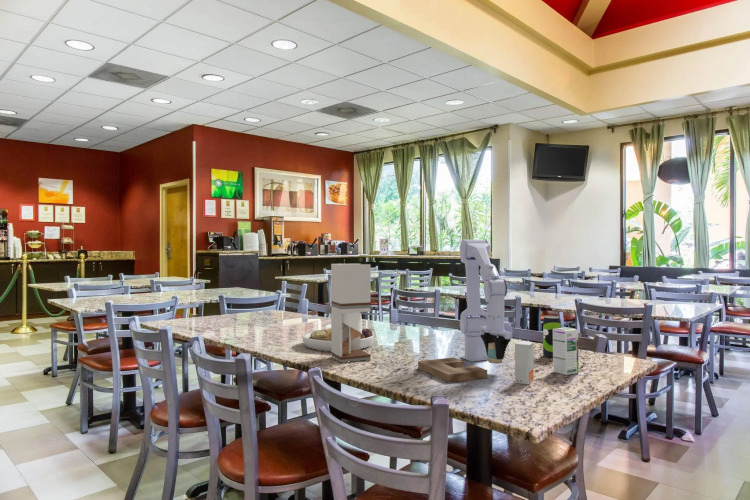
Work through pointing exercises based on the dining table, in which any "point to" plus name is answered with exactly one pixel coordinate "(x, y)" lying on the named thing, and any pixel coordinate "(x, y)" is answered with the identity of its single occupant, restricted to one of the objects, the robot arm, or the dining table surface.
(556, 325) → the beverage can
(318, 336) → the bowl
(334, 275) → the white cutaway tower
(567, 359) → the syrup box
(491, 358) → the wooden bobbin
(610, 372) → the dining table surface
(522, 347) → the skincare box
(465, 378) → the notched board
